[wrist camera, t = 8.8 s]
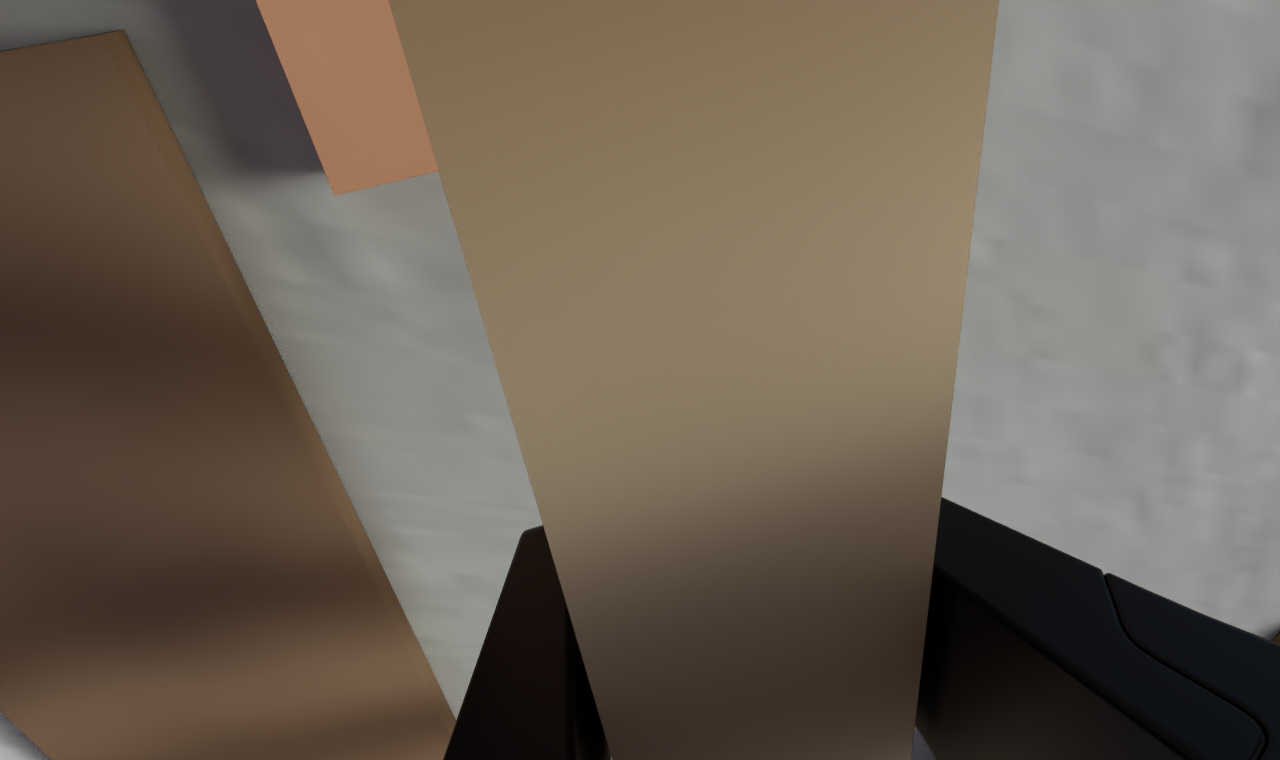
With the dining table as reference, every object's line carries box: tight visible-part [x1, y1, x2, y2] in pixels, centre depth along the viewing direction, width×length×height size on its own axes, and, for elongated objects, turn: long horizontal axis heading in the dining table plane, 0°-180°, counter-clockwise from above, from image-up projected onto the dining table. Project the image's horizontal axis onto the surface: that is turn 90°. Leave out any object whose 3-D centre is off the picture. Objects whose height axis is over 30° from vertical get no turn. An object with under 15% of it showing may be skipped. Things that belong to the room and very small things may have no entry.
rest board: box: [0, 30, 456, 760], centre depth 17 cm, size 24×9×1 cm, turn 9°
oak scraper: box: [388, 0, 999, 760], centre depth 8 cm, size 16×3×4 cm, turn 9°
